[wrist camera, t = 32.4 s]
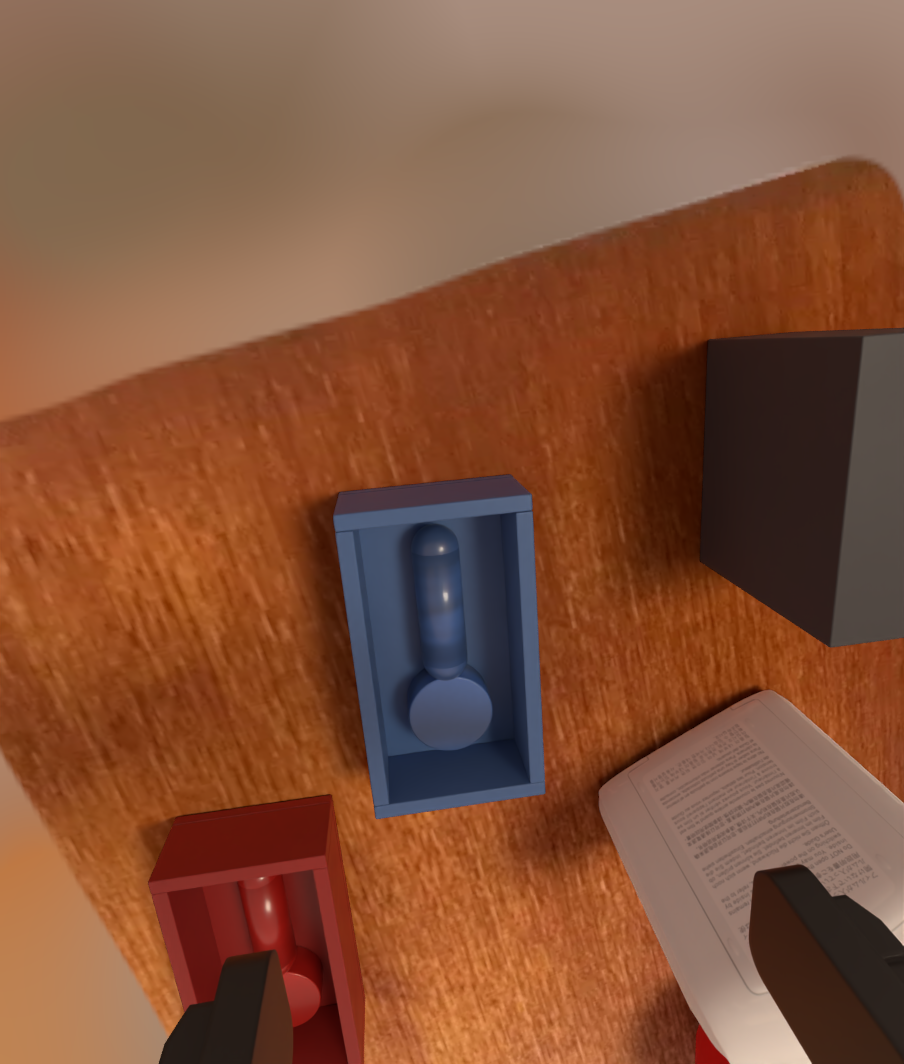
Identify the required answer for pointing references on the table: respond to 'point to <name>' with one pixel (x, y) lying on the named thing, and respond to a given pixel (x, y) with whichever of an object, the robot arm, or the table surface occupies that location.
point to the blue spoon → (444, 649)
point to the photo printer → (749, 853)
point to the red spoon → (282, 943)
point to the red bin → (219, 921)
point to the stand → (809, 477)
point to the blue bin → (491, 632)
